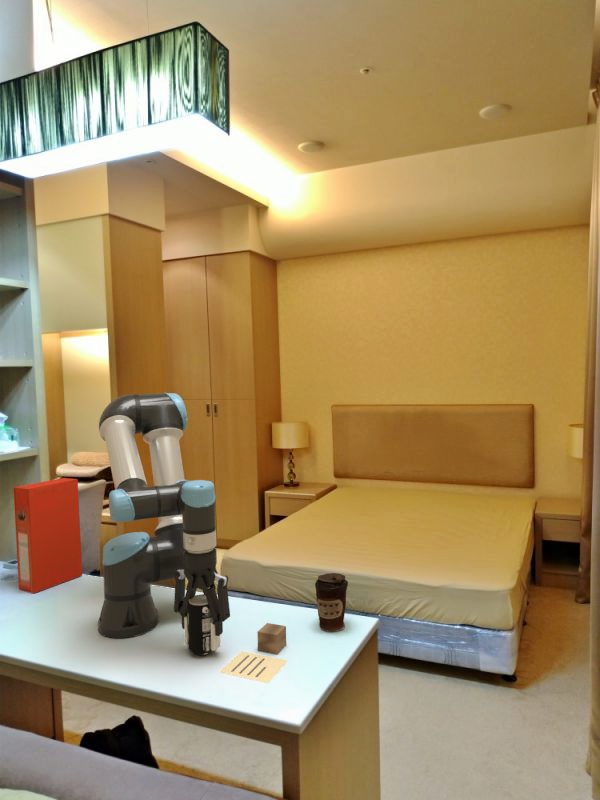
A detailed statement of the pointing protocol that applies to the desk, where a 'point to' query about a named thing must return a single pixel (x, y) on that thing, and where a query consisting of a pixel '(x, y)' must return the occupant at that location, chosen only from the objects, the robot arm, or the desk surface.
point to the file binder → (47, 533)
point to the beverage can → (199, 625)
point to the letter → (254, 666)
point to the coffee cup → (331, 601)
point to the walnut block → (271, 638)
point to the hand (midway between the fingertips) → (202, 644)
